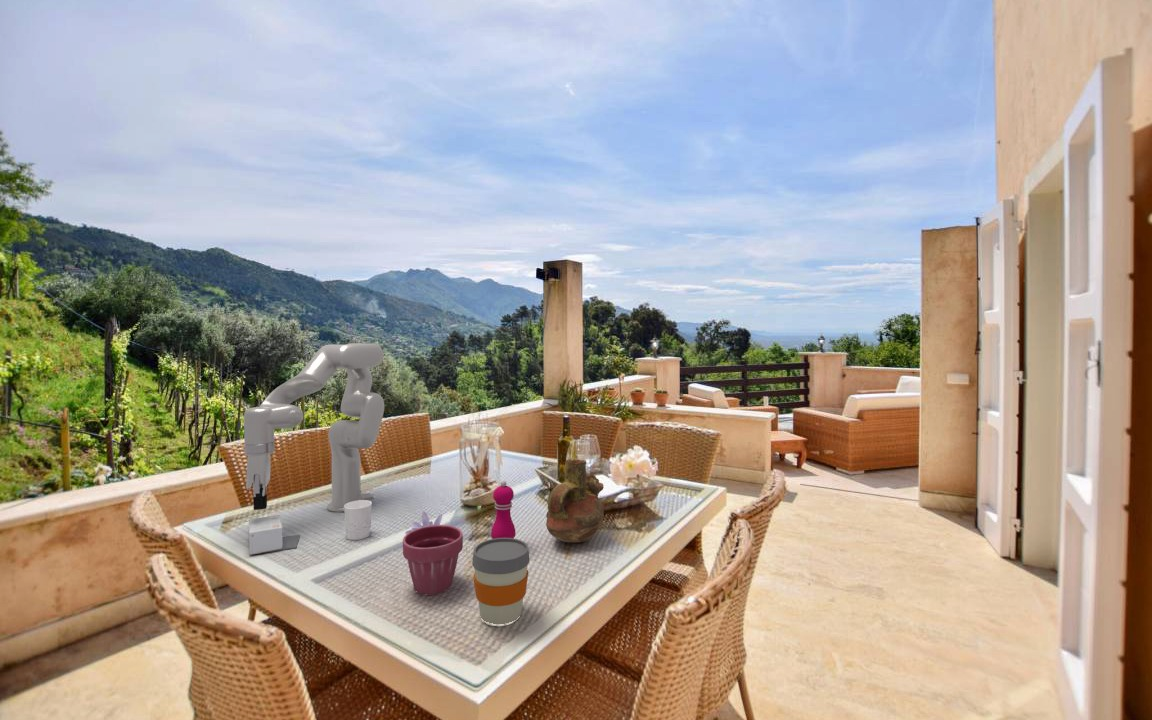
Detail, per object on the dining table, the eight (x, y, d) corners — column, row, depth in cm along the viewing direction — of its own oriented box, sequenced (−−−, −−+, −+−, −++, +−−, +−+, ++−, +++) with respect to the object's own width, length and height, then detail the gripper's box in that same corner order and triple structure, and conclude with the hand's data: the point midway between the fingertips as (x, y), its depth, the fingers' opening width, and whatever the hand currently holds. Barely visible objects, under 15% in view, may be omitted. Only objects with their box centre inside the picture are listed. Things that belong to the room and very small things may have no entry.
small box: (249, 539, 146) (248, 555, 135) (249, 519, 146) (248, 532, 135) (280, 534, 150) (282, 549, 139) (280, 514, 150) (282, 527, 139)
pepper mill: (519, 545, 145) (520, 478, 144) (508, 554, 138) (508, 485, 137) (498, 541, 147) (498, 476, 147) (486, 551, 140) (486, 482, 140)
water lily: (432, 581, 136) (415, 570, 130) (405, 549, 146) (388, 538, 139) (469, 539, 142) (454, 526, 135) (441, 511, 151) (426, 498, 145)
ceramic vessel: (621, 531, 156) (623, 454, 155) (575, 560, 135) (576, 471, 134) (578, 520, 166) (579, 447, 165) (528, 545, 145) (529, 462, 144)
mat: (300, 535, 150) (300, 534, 150) (296, 548, 141) (296, 547, 141) (258, 541, 146) (258, 540, 146) (251, 554, 136) (251, 553, 136)
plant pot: (423, 608, 110) (423, 552, 110) (391, 587, 119) (391, 536, 119) (474, 584, 121) (474, 534, 120) (441, 567, 130) (441, 520, 130)
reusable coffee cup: (488, 596, 115) (488, 534, 115) (537, 605, 112) (538, 541, 111) (461, 625, 103) (461, 556, 103) (515, 636, 100) (515, 565, 99)
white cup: (377, 533, 152) (377, 502, 152) (356, 543, 145) (356, 510, 145) (359, 529, 156) (359, 498, 155) (338, 538, 149) (338, 506, 148)
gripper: (249, 444, 151) (250, 502, 152) (239, 454, 137) (239, 518, 138) (277, 442, 154) (278, 499, 155) (269, 452, 140) (270, 515, 141)
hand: (260, 508), depth 146 cm, fingers closed
